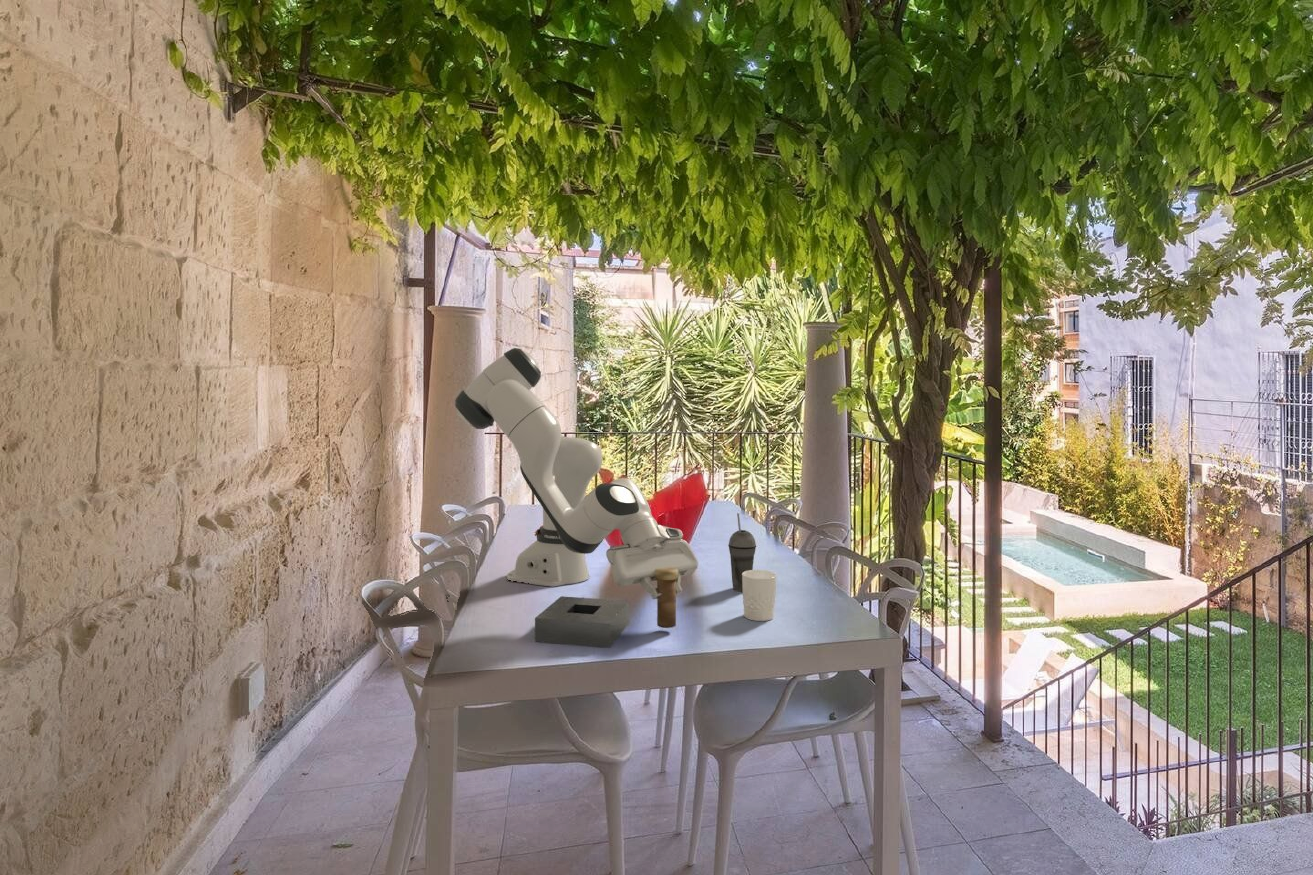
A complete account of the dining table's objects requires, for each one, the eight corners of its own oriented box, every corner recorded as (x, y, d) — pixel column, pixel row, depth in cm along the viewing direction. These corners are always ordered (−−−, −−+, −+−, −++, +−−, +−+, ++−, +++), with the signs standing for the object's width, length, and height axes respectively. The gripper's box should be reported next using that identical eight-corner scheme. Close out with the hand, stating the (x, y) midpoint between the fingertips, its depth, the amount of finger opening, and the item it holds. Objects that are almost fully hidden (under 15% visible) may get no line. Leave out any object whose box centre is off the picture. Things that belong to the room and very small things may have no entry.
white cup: (738, 611, 171) (739, 570, 170) (771, 611, 172) (772, 569, 171) (745, 622, 163) (746, 578, 162) (779, 621, 164) (780, 578, 163)
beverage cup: (754, 593, 186) (755, 516, 184) (726, 592, 187) (727, 515, 186) (756, 586, 193) (757, 511, 192) (729, 584, 194) (730, 510, 193)
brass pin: (652, 627, 155) (652, 572, 154) (657, 620, 160) (657, 566, 159) (675, 629, 154) (675, 573, 153) (679, 621, 159) (680, 567, 158)
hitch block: (535, 641, 150) (534, 617, 150) (561, 617, 166) (561, 596, 165) (609, 647, 147) (609, 623, 147) (629, 622, 162) (629, 600, 162)
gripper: (608, 539, 156) (631, 595, 148) (687, 529, 167) (712, 580, 159) (598, 555, 160) (620, 611, 152) (676, 544, 171) (700, 595, 163)
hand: (668, 595), depth 156 cm, fingers closed on brass pin, 4 cm apart
